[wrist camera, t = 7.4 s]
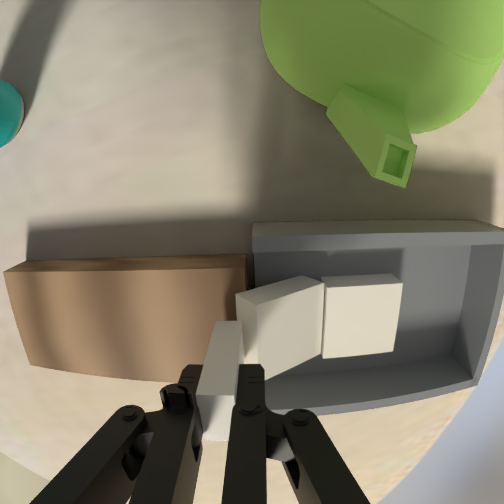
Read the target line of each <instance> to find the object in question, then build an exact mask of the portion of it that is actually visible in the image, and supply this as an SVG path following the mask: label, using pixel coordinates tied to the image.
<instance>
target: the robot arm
mask: <svg viewBox="0 0 504 504" xmlns="http://www.w3.org/2000/svg"><path fill="white" fill-rule="evenodd" d="M244 362H245V360H244V343H243V326H242V321H215V325H214V329H213V332H212V336H211V339H210V343H209V347H208V350H207V354H206V358H205V361H204V365H201V364H188V365H187V366H186V367H185V368H184V369H183V370H182V372H181V375H180V378H179V381H178V383H176V384H170V385H167V386H165V387H163V388H162V389H161V391H160V396H161V400H162V404H163V409H162V410H159V411H154V412H147V413H145V412H144V410H143V409H142V408H141V407H139V406H136V405H126V406H124V407H121V408H120V409H118V410H117V411H116V412H115V413H114V414H113V415H112V416H111V417H110V418H109V420H108V421H107V422H106V423H105V424H104V425H103V426H102V427H101V428H100V429H99V430H98V431H97V432H96V433H95V435H94V436H93V437H92V438H91V439H90V440H89V441H88V442H87V443H86V444H85V445H84V446H83V447H82V448H81V450H80V451H79V452H78V453H77V454H76V455H75V456H74V457H73V458H72V459H71V460H70V461H69V462H68V463H67V464H66V466H65V467H64V468H63V469H62V470H61V471H60V472H59V473H58V474H57V475H56V476H55V477H54V478H53V479H52V480H51V481H50V483H49V484H48V485H47V486H46V487H45V488H44V489H43V490H42V491H41V492H40V493H39V494H38V495H37V496H36V497H35V498H34V500H32V501H31V503H30V504H126V502H127V501H128V499H129V498H130V497H131V498H130V501H129V504H193V499H194V493H195V488H196V482H197V477H198V471H199V466H200V461H201V455H202V450H203V448H202V442H201V440H202V435H203V437H204V440H212V441H228V450H227V459H226V467H225V476H224V485H223V494H222V503H221V504H267V480H266V458H270V459H275V460H279V461H282V464H283V467H284V469H285V471H286V474H287V476H288V479H289V481H290V483H291V486H292V488H293V490H294V493H295V495H296V497H297V500H298V502H299V504H370V502H369V501H368V499H367V498H366V496H365V494H364V493H363V491H362V490H361V488H360V486H359V485H358V483H357V482H356V480H355V478H354V477H353V475H352V474H351V472H350V470H349V469H348V467H347V466H346V464H345V462H344V461H343V459H342V457H341V456H340V454H339V452H338V451H337V449H336V448H335V446H334V444H333V443H332V441H331V439H330V438H329V436H328V434H327V433H326V431H325V429H324V428H323V426H322V424H321V423H320V421H319V419H318V418H317V416H316V415H315V414H314V413H313V412H312V411H310V410H307V409H293V410H291V411H288V412H287V413H286V414H285V415H282V414H278V413H274V412H272V411H271V410H269V409H268V408H267V406H266V403H265V370H264V368H263V367H262V366H261V364H244Z"/></svg>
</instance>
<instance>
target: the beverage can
mask: <svg viewBox="0 0 504 504" xmlns="http://www.w3.org/2000/svg"><path fill="white" fill-rule="evenodd" d="M23 117H24V102H23V99H22V96H21V95H20V93H19V92H18V91H17V90H16V89H15V88H14V87H13V86H12V85H11V84H10V83H9V82H6V81H3V80H0V147H2V146H4V145H6V144H7V143H9V142H10V141H11V140H12V139H13V138H14V137H15V136H16V134H17V133H18V131H19V129H20V127H21V124H22V121H23Z"/></svg>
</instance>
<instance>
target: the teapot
mask: <svg viewBox="0 0 504 504" xmlns="http://www.w3.org/2000/svg"><path fill="white" fill-rule="evenodd" d="M260 30H261V37H262V41H263V46H264V49H265V52H266V54H267V57H268V59H269V61H270V63H271V64H272V66H273V67H274V69H275V70H276V72H277V73H278V74H279V75H280V76H281V77H282V78H283V79H284V80H285V81H286V82H287V83H288V84H289V85H291V86H292V87H293V88H294V89H296V90H297V91H298V92H300V93H302V94H304V95H305V96H307V97H309V98H311V99H312V100H314V101H316V102H318V103H320V104H322V105H324V106H326V107H327V111H326V116H327V117H328V118H329V120H330V121H331V122H332V124H333V125H334V126H335V127H336V129H337V130H338V131H339V133H340V134H341V135H342V137H343V138H344V139H345V141H346V142H347V143H348V145H349V146H350V147H351V149H352V150H353V151H354V153H355V154H356V155H357V157H358V158H359V160H360V161H361V162H362V164H363V165H364V167H365V168H366V170H367V171H368V172H369V174H370V175H371V177H373V178H376V179H379V180H382V181H385V182H388V183H390V184H393V185H396V186H399V187H401V188H404V189H406V185H407V182H408V178H409V175H410V171H411V168H412V164H413V160H414V157H415V153H416V149H417V145H414V144H413V141H412V138H411V135H410V134H418V133H423V132H428V131H432V130H436V129H438V128H440V127H442V126H445V125H447V124H449V123H451V122H452V121H454V120H456V119H457V118H459V117H460V116H461V115H462V114H464V113H465V112H466V111H467V110H468V109H469V108H470V107H471V106H472V105H474V104H475V102H476V101H477V100H478V98H479V97H480V96H481V94H482V93H483V92H484V90H485V89H486V87H487V86H488V85H489V83H490V81H491V79H492V78H493V76H494V74H495V72H496V70H497V69H498V67H499V65H500V63H501V60H502V58H503V56H504V0H261V2H260Z"/></svg>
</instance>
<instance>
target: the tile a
mask: <svg viewBox="0 0 504 504" xmlns="http://www.w3.org/2000/svg"><path fill="white" fill-rule="evenodd" d="M235 297H236V313H237V321H242V326H243V343H244V360H245V362H244V364H261V366H262V367H263V368H264V370H265V380H267V379H269V378H271V377H273V376H276V375H278V374H280V373H282V372H284V371H286V370H288V369H290V368H293V367H295V366H297V365H299V364H301V363H303V362H305V361H307V360H309V359H311V358H313V357H315V356H317V355H319V354H321V341H322V325H323V305H324V282H321V281H318V280H315V279H312V278H309V277H306V276H303V275H300V276H297V277H293V278H290V279H286V280H283V281H279V282H276V283H272V284H269V285H265V286H262V287H258V288H255V289H251V290H248V291H244V292H241V293H237V294H235Z"/></svg>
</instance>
